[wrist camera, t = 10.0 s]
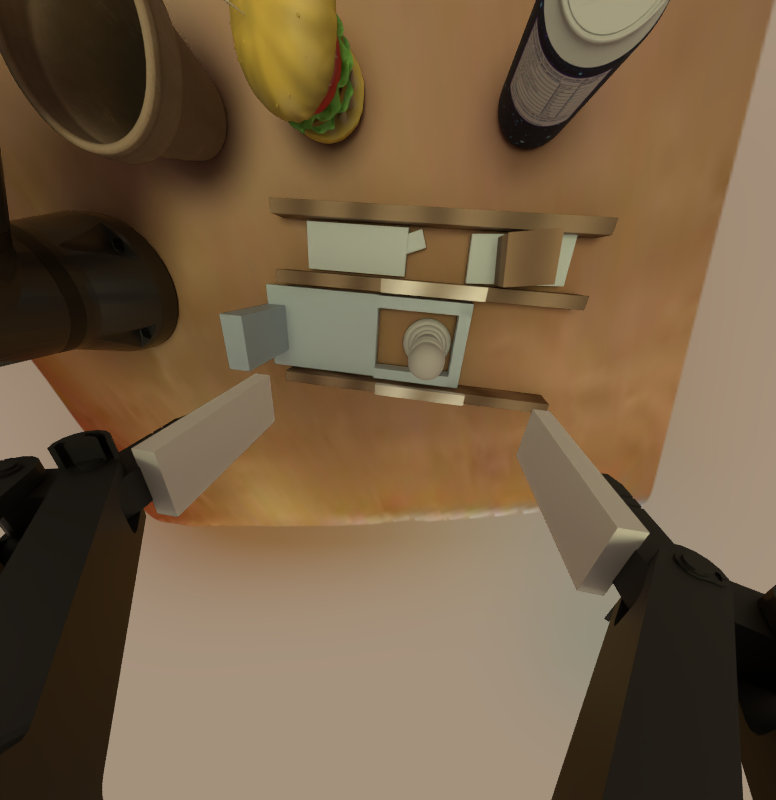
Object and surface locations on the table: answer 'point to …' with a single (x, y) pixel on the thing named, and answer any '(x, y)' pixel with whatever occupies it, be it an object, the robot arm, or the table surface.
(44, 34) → the flower pot
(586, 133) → the table surface
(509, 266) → the walnut cube
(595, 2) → the beverage can
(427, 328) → the chess piece
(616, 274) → the table surface
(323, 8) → the hamburger
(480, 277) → the broken strip
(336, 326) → the pale grey slab
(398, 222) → the lane rails
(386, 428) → the table surface
